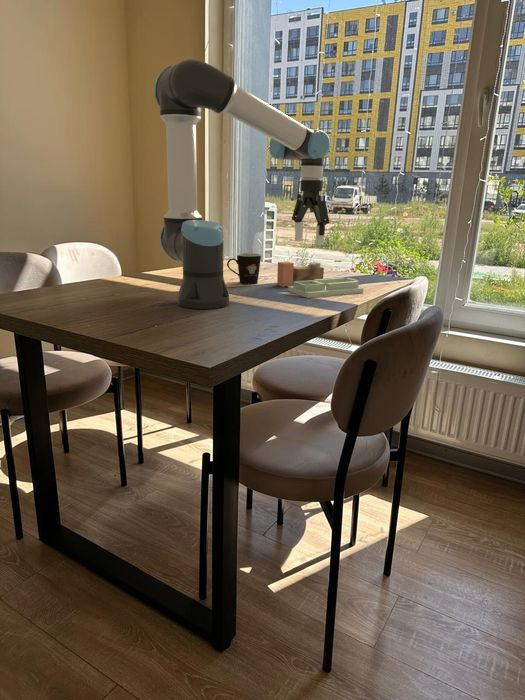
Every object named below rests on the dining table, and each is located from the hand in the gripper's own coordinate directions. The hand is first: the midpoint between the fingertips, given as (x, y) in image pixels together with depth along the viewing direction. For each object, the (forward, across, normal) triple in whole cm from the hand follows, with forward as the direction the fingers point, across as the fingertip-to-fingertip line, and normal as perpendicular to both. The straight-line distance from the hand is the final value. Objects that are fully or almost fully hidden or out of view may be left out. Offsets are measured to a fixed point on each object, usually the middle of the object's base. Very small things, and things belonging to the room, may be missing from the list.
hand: (308, 243), depth 181 cm
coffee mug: (+14, +10, +20) cm, 27 cm away
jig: (+14, -15, +2) cm, 21 cm away
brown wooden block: (+15, 0, 0) cm, 15 cm away
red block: (+14, 0, +9) cm, 17 cm away
